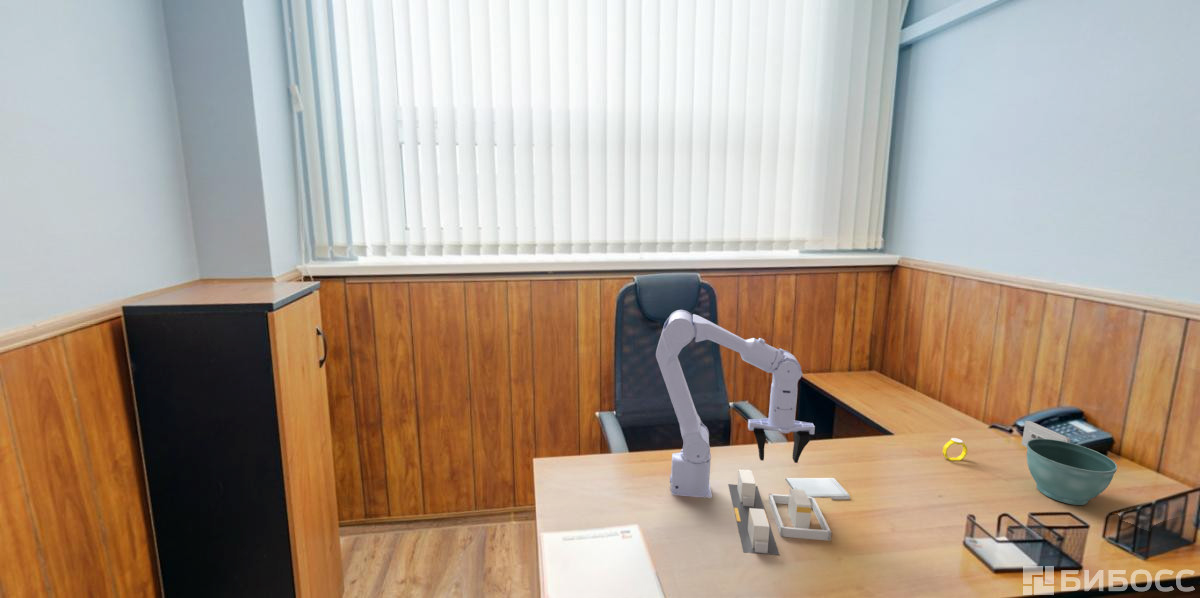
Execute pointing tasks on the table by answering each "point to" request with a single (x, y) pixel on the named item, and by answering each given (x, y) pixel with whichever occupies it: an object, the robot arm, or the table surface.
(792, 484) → the hard drive
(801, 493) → the block
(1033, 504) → the table surface
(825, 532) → the tray
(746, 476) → the block
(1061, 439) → the cassette
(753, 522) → the block
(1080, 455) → the teal green bowl
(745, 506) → the block
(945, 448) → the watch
